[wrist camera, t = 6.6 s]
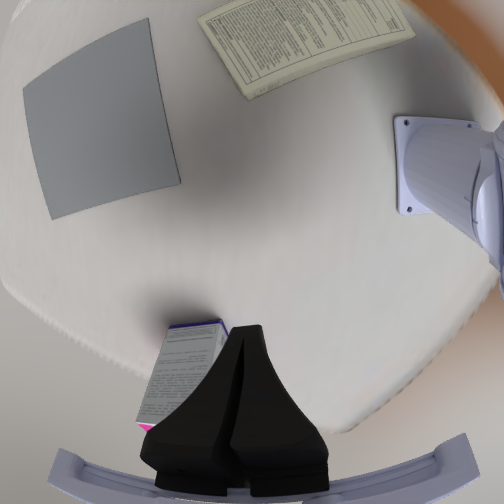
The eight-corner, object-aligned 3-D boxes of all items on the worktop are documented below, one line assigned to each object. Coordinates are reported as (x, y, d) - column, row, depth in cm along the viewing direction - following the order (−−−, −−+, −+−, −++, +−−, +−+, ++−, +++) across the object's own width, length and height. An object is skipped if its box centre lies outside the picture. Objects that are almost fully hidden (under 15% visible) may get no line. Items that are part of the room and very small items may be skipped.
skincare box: (246, 103, 17) (390, 50, 14) (243, 97, 13) (419, 39, 10) (205, 34, 15) (350, -14, 12) (191, 14, 11) (370, -37, 8)
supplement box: (167, 325, 26) (132, 421, 16) (222, 317, 25) (204, 425, 15) (188, 362, 29) (167, 451, 19) (238, 357, 28) (230, 454, 18)
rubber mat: (148, 18, 14) (147, 17, 13) (181, 183, 20) (180, 183, 20) (23, 88, 15) (22, 88, 15) (53, 219, 21) (52, 220, 21)
